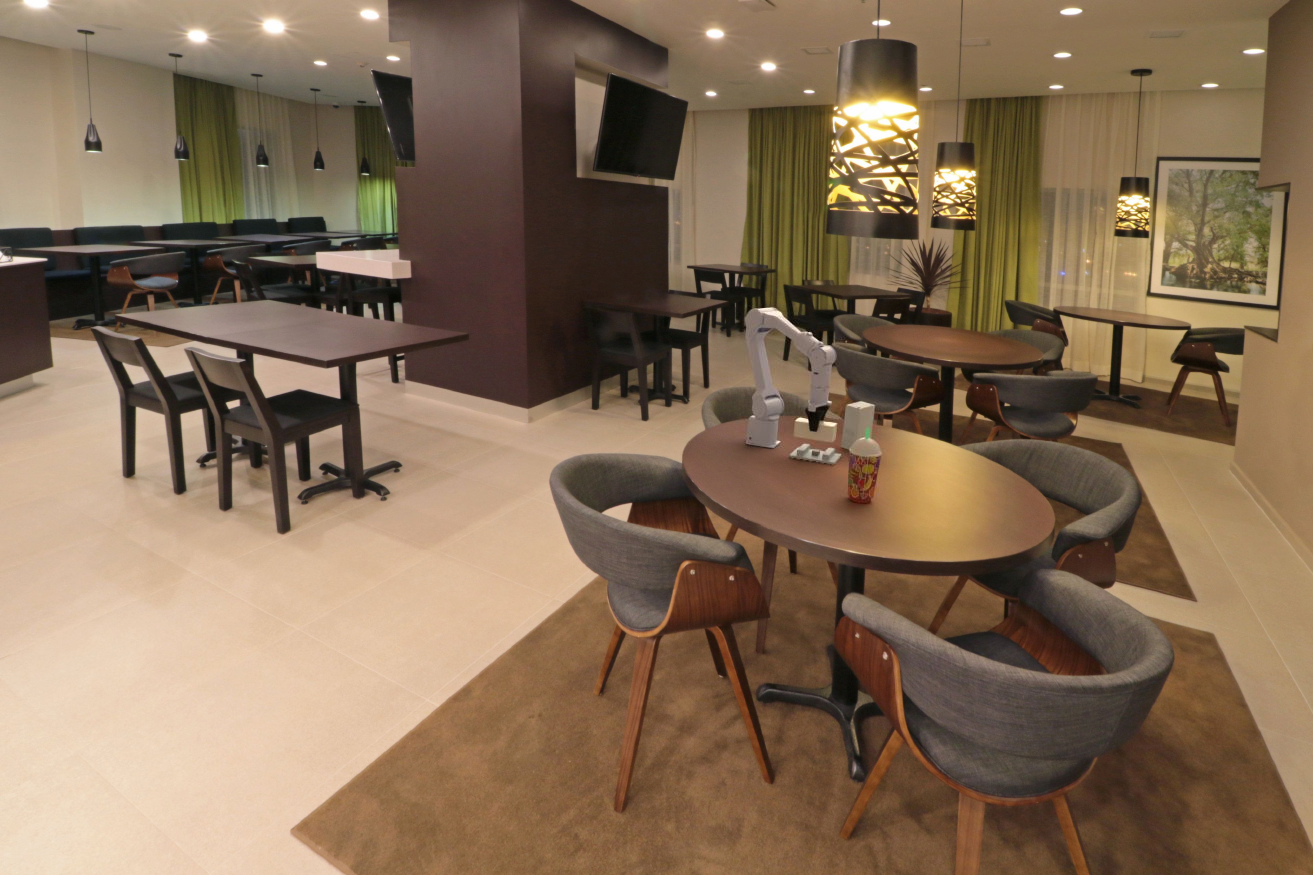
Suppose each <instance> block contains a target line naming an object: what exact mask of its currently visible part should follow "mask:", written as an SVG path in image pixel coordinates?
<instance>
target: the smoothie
mask: <svg viewBox="0 0 1313 875" xmlns="http://www.w3.org/2000/svg"><path fill="white" fill-rule="evenodd" d="M869 429H870V428H867V433H866V437H865V438H860V439H858V440H857V441H855V442H854V443H853V445H852V447H851V448H850V449H849V450H848V451H849V453H848V454H849V455H848V457H849V458H848V472H847V474H848V475H847V476H848V477H847V492H846V493H847V495H848V499H849V500H850V501H851V502H854V503H858V504H868V503H870V502H871V500H872V499H873V498H874V494H875V491H876V487H877V486H876V485H877V484H876V483H877V481H878V480H877V479H878V474H879V469H880V466H881V459H882V455H883V452H882V450H881V447H880V445H879V444H878V442H877V441H876V440H875V439H874V438H872V437H871V438H869Z"/></svg>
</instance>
